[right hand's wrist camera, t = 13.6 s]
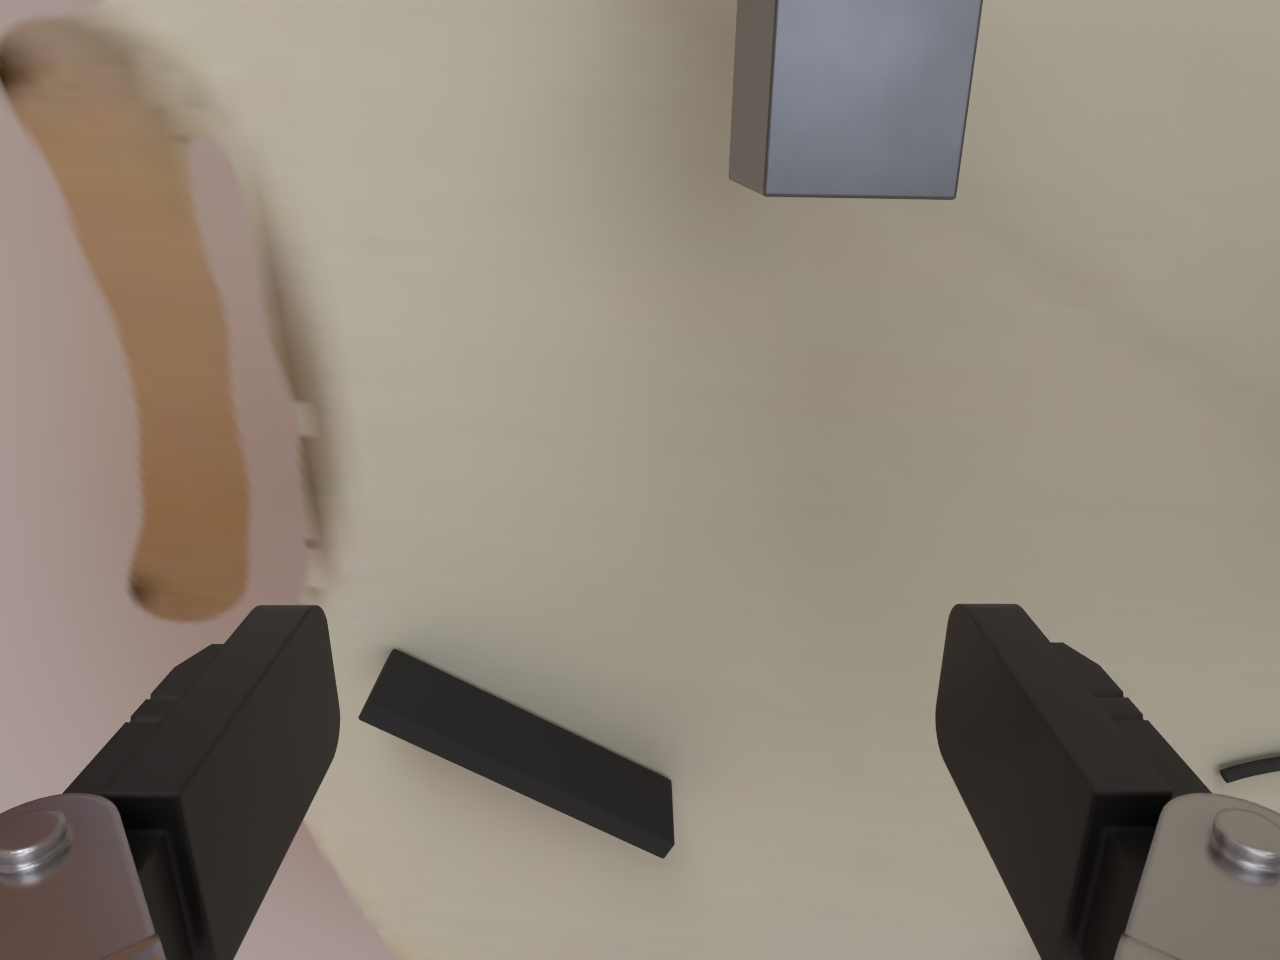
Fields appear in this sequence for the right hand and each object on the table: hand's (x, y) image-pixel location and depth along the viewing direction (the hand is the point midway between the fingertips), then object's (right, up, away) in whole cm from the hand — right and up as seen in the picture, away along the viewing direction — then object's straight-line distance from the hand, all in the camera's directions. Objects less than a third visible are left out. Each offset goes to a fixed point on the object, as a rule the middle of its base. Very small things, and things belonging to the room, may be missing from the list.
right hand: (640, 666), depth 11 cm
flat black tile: (-6, -11, +38) cm, 40 cm away
